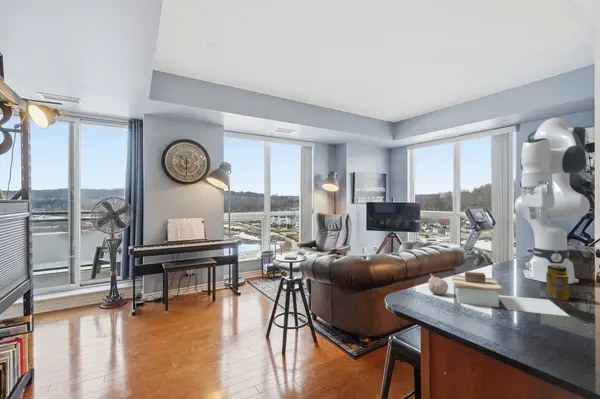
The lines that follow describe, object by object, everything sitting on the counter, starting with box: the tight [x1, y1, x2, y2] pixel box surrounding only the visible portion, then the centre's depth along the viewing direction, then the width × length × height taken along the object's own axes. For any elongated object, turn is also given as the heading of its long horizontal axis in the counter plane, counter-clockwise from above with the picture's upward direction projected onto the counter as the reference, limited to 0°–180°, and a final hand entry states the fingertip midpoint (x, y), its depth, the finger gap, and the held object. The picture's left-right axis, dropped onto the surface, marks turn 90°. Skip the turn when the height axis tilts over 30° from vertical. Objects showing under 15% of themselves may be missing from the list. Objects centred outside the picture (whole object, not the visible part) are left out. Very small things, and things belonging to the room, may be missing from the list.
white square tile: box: [499, 294, 570, 317], centre depth 99 cm, size 16×16×1 cm
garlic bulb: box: [427, 272, 449, 295], centre depth 114 cm, size 7×6×8 cm
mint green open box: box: [454, 287, 500, 308], centre depth 105 cm, size 12×12×6 cm
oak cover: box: [451, 271, 504, 293], centre depth 105 cm, size 14×14×4 cm
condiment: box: [545, 265, 570, 301], centre depth 105 cm, size 7×8×12 cm
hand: (537, 219), depth 106 cm, fingers open, 8 cm apart
